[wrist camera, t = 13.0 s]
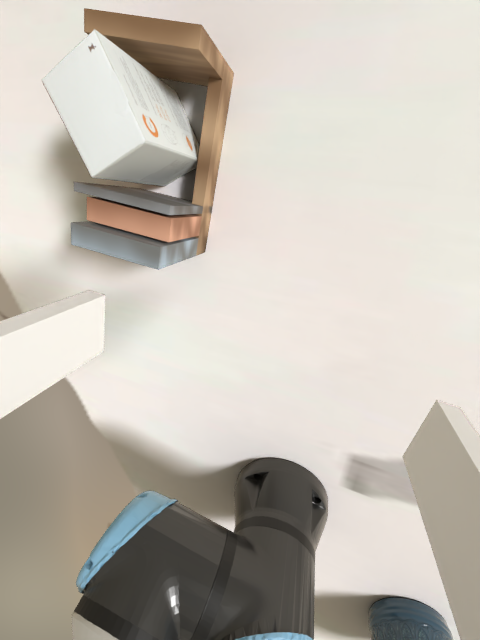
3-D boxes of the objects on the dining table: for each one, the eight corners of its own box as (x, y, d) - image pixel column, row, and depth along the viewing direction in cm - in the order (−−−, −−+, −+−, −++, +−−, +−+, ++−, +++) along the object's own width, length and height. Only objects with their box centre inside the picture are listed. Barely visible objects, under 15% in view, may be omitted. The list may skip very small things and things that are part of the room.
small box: (133, 121, 35) (38, 77, 23) (176, 89, 33) (94, 23, 21) (164, 188, 37) (90, 179, 25) (207, 163, 35) (147, 140, 23)
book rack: (204, 252, 38) (158, 269, 28) (133, 232, 40) (62, 241, 29) (233, 73, 31) (185, 0, 20) (144, 58, 32) (54, -17, 22)
